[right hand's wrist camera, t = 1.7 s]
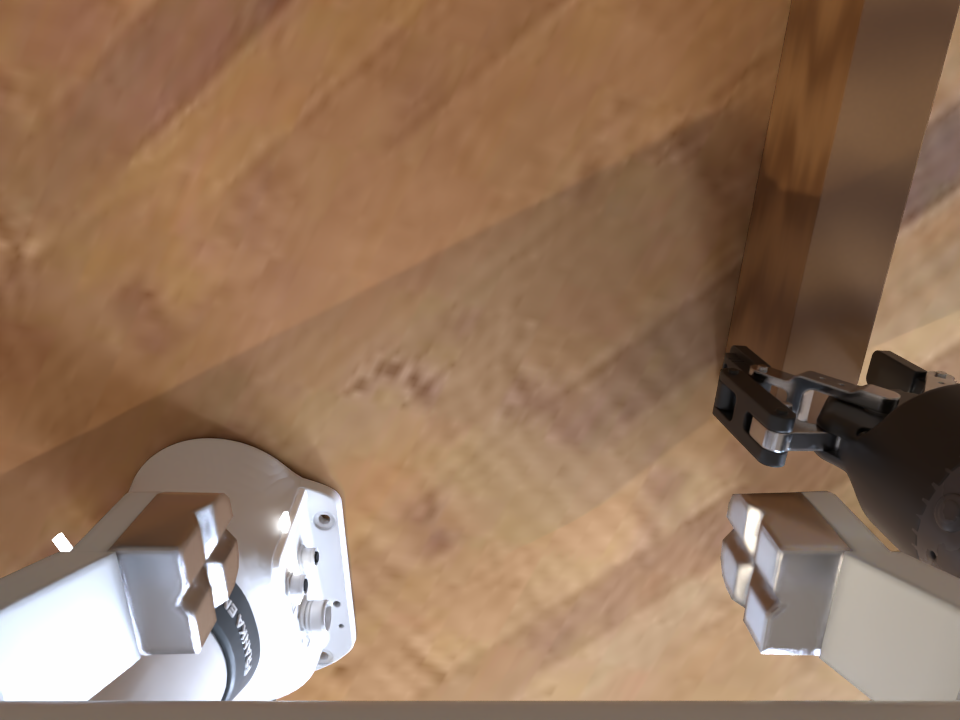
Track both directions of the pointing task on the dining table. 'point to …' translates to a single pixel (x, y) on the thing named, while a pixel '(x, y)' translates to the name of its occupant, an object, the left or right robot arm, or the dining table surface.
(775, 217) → the bar
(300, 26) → the dining table surface
